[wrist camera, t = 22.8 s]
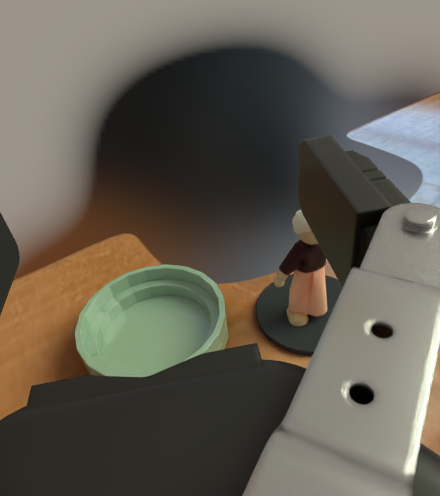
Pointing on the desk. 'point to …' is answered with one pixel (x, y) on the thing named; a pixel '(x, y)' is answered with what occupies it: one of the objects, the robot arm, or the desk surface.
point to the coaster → (277, 322)
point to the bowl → (151, 321)
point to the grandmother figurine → (304, 275)
